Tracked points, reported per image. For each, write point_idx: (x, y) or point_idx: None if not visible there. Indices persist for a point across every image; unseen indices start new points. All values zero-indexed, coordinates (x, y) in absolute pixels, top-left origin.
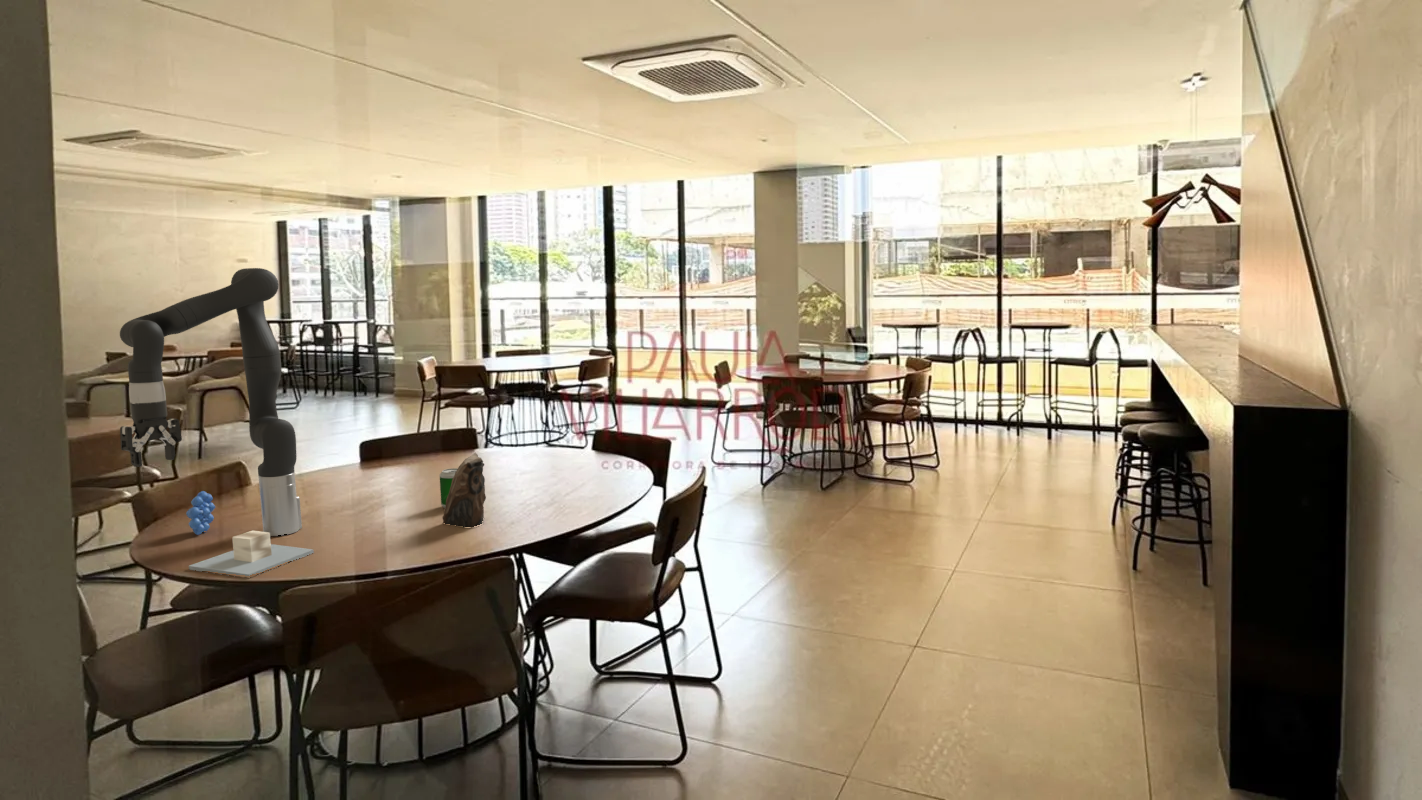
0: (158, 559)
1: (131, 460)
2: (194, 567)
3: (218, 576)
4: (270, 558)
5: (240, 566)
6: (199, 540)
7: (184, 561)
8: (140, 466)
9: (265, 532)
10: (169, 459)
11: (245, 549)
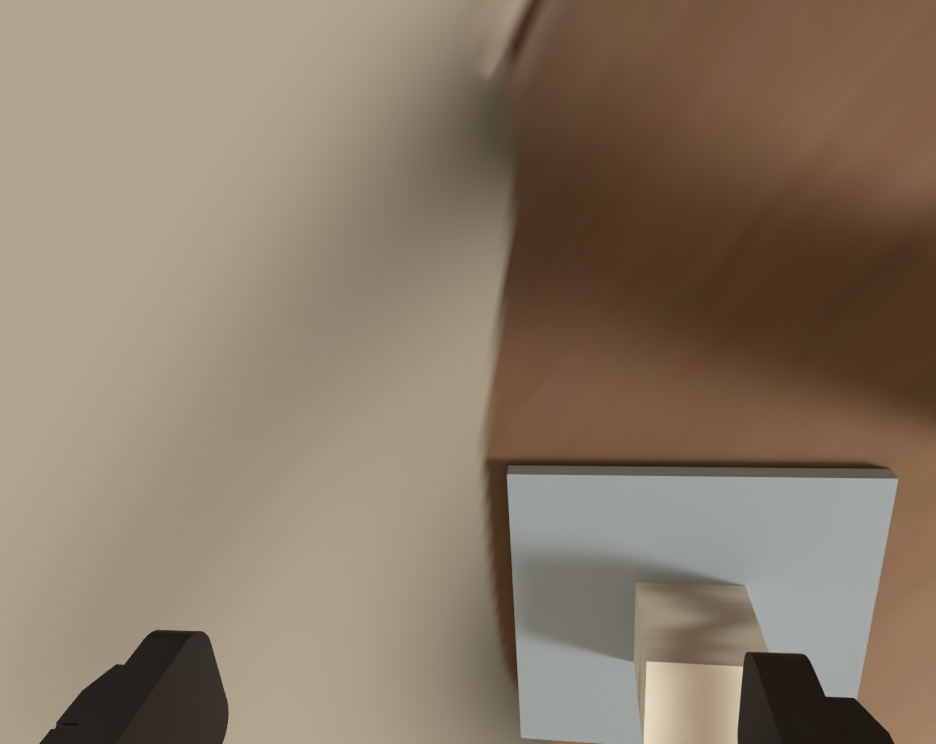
0: (561, 189)
1: (56, 735)
2: (509, 502)
3: (497, 623)
4: None
5: (578, 658)
6: (927, 59)
7: (583, 347)
8: (215, 708)
9: None
10: (741, 717)
11: (639, 679)
